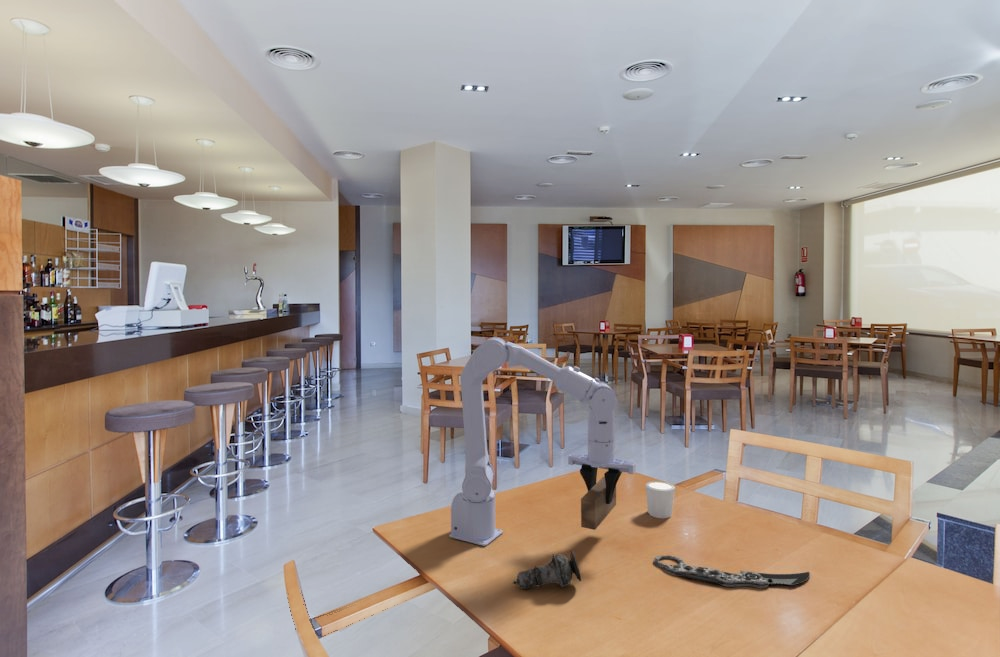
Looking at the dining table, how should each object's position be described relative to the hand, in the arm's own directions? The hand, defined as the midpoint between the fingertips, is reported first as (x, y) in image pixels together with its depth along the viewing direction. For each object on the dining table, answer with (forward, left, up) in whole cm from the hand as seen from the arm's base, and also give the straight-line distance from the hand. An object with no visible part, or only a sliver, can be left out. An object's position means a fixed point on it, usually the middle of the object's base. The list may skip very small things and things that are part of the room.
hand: (600, 501), depth 116 cm
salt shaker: (+3, -20, -5) cm, 21 cm away
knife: (+27, -3, -9) cm, 28 cm away
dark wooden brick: (0, -1, -3) cm, 3 cm away
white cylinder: (+8, +20, -9) cm, 23 cm away
